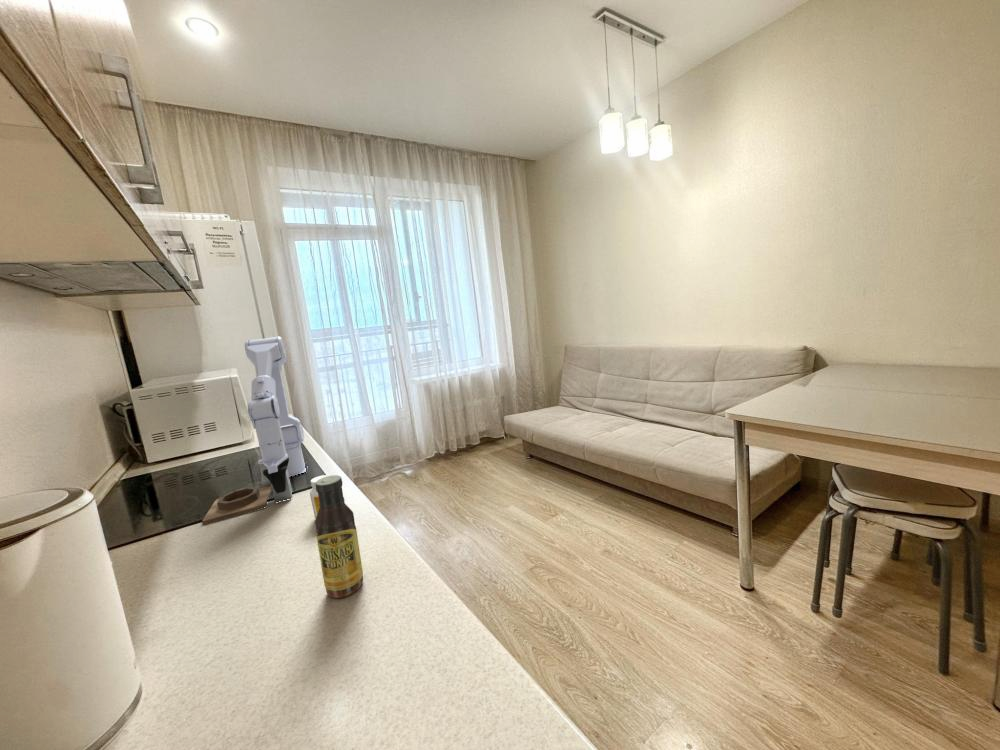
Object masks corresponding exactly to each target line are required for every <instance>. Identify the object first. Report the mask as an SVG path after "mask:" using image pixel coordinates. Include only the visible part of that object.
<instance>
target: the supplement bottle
mask: <svg viewBox="0 0 1000 750" xmlns="http://www.w3.org/2000/svg"><path fill="white" fill-rule="evenodd" d="M327 476H328V475H326V474H322V475H318V476H315V477H314V478H312V479H311V480H310V485H311V487H312V488H311V489H310V491H309V496H310V502H311V506H312V510H313V515H314V519H315V520H316V517H317V514H318V511H319V508H320V506H319V504H320V502H319V496H318V492H317V491H316V484H315V483H316V482H317V481H318V480H319V479H321V478H324V477H327Z"/></svg>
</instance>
